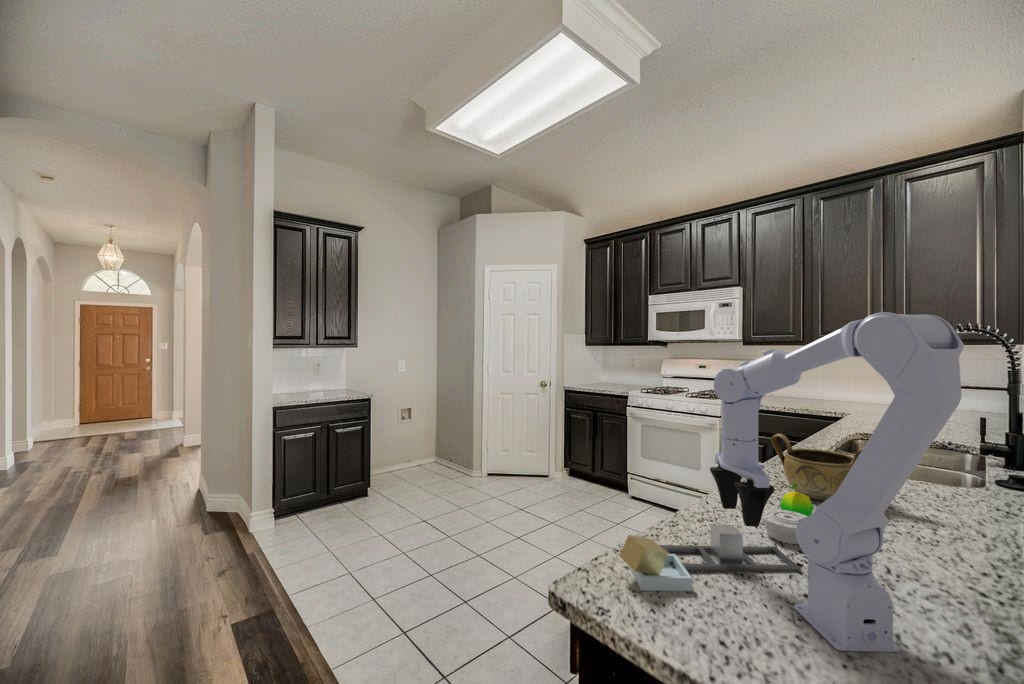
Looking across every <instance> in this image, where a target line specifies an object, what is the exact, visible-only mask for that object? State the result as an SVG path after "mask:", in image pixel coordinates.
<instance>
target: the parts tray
mask: <svg viewBox="0 0 1024 684" xmlns="http://www.w3.org/2000/svg"><path fill="white" fill-rule="evenodd" d="M670 562H673V563H674V564H675V566H676V568H672V566H671V565H670ZM682 563H683V562H681V560H680V559H679V557H678V556H677V555H676V553H670V554H669V555H668V557H667V559H666V562H665V564H664V566H663V568H662V571H661V573H660V575H654V574H648V573H642V572H636V571H634V570H633V569H632V568H631V567H630V566H629V569H630V570H631V572H632V575H633V577H634V579H635V581H636V583H637V585H638V588H639V589H640V591H641V592H642V591H644V592H645V591H651V592H653V591H654V592H692V591H693V577H692V576H691V575H690V572H687V570H686V569H685V567H684V566H683V565H682Z"/></svg>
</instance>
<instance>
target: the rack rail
mask: <svg viewBox="0 0 1024 684" xmlns="http://www.w3.org/2000/svg"><path fill="white" fill-rule="evenodd" d="M658 545H659V546H660V547H661V548H663V549H664V550H665V551H666V552H667V553H669V554H699V555H698V556H699V557H700V558H701V559H702V561H703V562H704V561H705V562H706V563H705V562H704V563H688V562H687V563H683V562H681V563H682V565H683V566H684V567H685V569H686V570H687V572H688V573H702V572H701V571H705V573H735V572H736V573H737V572H738V573H745V572H747V573H749V572H750V573H751V572H752V573H758V572H760V573H764V571H801V572H802V568H801V567H800V566H799V565H798V564H797V563H795V562H794V561H793V560H792V559H791V558H789V557H788V556H787V555H786V554H784V553H783V552H782V551H780V550H779V549H778V548H777V547H776V546H747V545H746V546H743V562H744V564H717V563H716V561H715V560H714V559H713V558H712V557H711V556H710V545H680V544H679V545H678V544H677V545H675V544H674V545H673V544H669V545H667V544H663V545H662V544H658ZM747 554H773V555H774V556H775V555H776V556H775V557H777V559H779V560H780V559H781V560H782V562H783V563H784V564H757V563H756V562H755V561H754V560H753V559H752V558H751V557H749V555H747ZM781 560H780V561H781ZM785 563H786V564H787V565H786V564H785ZM670 565H671V566H672V568H676V566H675V564H674V563H673V562H670ZM697 571H698V572H697ZM706 571H707V572H706ZM709 571H710V572H709Z"/></svg>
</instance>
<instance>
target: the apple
mask: <svg viewBox="0 0 1024 684" xmlns="http://www.w3.org/2000/svg"><path fill="white" fill-rule="evenodd" d="M793 484H794V486H789V487H787V488H788V489H790V490H795V491H790V492H789V491H788V492H787V493H785V494H784V495H783V497H782V498H781V502H780V503H779V506H780V510H787V511H792V512H796V513H800V514H803V515H806V516H810V515H812V514H813V513H814V511H815V507H814V505H813V503H812V501H811V500H812V499H811V498H809V497H808V496H806V495H804V494H801V493H799V492H798V491H797V483H796V481H795V482H794V483H793Z"/></svg>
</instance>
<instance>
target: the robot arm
mask: <svg viewBox="0 0 1024 684" xmlns="http://www.w3.org/2000/svg"><path fill="white" fill-rule="evenodd" d="M964 347H965V344H964V343H963V341H962V339H961V338H960V336H959V334H958V333H957V332H956V331H955V329H954V327H953V326H952V325H951V324H950V322H949V321H947V320H945V319H944V318H942V317H940V316H937V315H934V314H930V313H929V314H927V313H923V314H919V313H918V314H906V313H905V314H902V313H898V314H897V313H895V312H889V311H888V312H886V311H883V312H877V313H873V314H871V315H868V316H866V317H865V318H864V319H858V320H853V321H850V322H848V323H847V324H845V325H843V326H842V327H840V328H839V329H836V330H834V331H832V332H830V333H828V334H826V335H824V336H822V337H819V338H818V339H816V340H814V341H812V342H810V343H808V344H805V345H804V346H802V347H799V348H797V349H796V350H794V351H791V352H788V351H785V350H781V349H778V350H777V349H767V350H765V351H763V352H762V355H763V356H761V357H758V358H757V359H754V360H752V361H744V362H741V363H740V366H739V367H738V368H736V369H735V368H729V367H727V368H726V367H725V368H723V369H721V371H719V372H718V373H716V374H715V376H714V379H713V390H714V393H715V395H716V397H717V398H718V399H719V400H721V401H720V404H721V405H720V406H721V408H720V410H721V413H720V415H721V420H720V421H721V428H720V429H721V435H720V436H721V452H717V453H715V454H714V455H715V456H714V463H715V464H716V465H717V466H712V467H710V468H709V471H710V473H711V475H712V478H713V480H714V482H715V483H716V487H717V490H718V494H719V498H720V501H721V502H720V504H721V506H722V509H724V510H736V508H737V505H738V498H739V500H740V504H741V513H742V519H743V520H742V521H743V523H744V524H743V525H744V526H746V527H759V526H760V523H761V517H762V513H763V511H764V510H765V508H766V505H767V503H768V501H769V499H770V497H771V496H772V495H773V494H774V493H775V486H773V485H771V484H770V475H769V474H767V473H765V471H764V469H766V465H765V464H764V463H762V462H760V461H759V411H760V409H761V401H762V400H763V398H764V397H765V395H767V394H770V393H772V392H776V391H779V390H782V389H784V388H788V387H790V386H794V385H796V384H798V383H799V381H800V380H801V376H802V373H804V372H808V371H810V370H811V371H812V370H813V369H817V368H819V367H822V366H826V365H829V364H831V363H834V362H838V361H840V360H843V359H844V360H845V359H846V358H851V357H852V358H853V357H854V358H855V357H856V358H859V357H860V358H861V357H862V358H863V359H864V360H865V361H866V363H868V364H869V366H870V367H872V368H873V369H874V371H876V372H877V373H878V374H879V375H880V376H881V377H882V378H883V379H884V380H885V381H886V382H887V385H888V386H889V387H890V389H891V391H892V393H893V395H894V398H893V399H892V400H891V402H890V404H889V406H888V408H887V409H886V410H885V412H884V414H883V415H882V417H881V419H880V420H879V422H878V424H877V425H876V427H875V429H874V430H873V432H872V433H871V435H870V436H869V438H868V440H867V441H866V443H865V445H864V448H863V447H862V448H863V449H862V451H861V453H860V454H859V456H858V458H857V459H856V461H855V463H854V464H853V466H852V467H851V469H850V471H849V472H848V474H847V476H846V477H845V479H844V480H843V482H842V484H841V485H840V487H839V489H838V490H837V492H836V493H835V494H834V495H833V496H831V497H830V498H828V499H827V500H826V501H822V503H820V504H819V505H817V507H816V508H815V509H814V510H813V512H812V514H811V515H810V516H808V517H805V518H803V519H801V520H800V521H799V523H798V524H797V527H796V537H797V541H798V544H799V545H798V544H797V545H798V546H799V548H800V549H801V551H802V552H803V554H804V555H805V559H806V560H807V604H803V603H801V604H800V603H797V604H796V603H794V605H793V609H794V610H795V611H797V612H798V613H799V615H800V616H802V617H803V618H804V619H805V621H806V622H807V623H809V625H810V626H812V627H813V628H814V629H815V630H816V631H817V632H818V633H819V634H820V635H821V636H822V637H823V638H824V639H825V640H826V641H827V642H828V643H829V644H830V645H831V646H832V647H834V649H836V650H837V651H840V652H846V651H847V652H877V653H879V652H880V653H881V652H883V653H884V652H885V653H888V652H889V653H899V652H900V649H901V648H900V647H899V646H898V645H897V644H896V643H895V642H894V605H893V600H892V598H891V596H890V594H889V593H888V592H887V591H886V590H885V589H884V588H883V587H882V586H881V585H880V583H879V582H878V581H877V579H876V577H875V575H874V572H873V564H874V563H873V562H874V558H873V557H874V555H875V554H877V553H879V552H880V551H881V550H882V548H883V546H884V541H885V540H884V539H885V538H884V531H885V528H886V526H887V525H888V524H889V519H888V517H887V516H886V514H885V512H886V511H887V509H888V508H889V506H890V505H891V504H892V503H893V500H894V499H895V498H896V496H897V495H898V493H899V492H900V491H901V489H902V488H903V486H904V485H905V483H906V482H907V480H908V479H909V478H910V476H912V473H914V472H913V471H915V469H916V467H918V465H919V463H920V462H921V460H922V459H923V458H924V456H925V455H926V453H927V451H928V450H929V449H930V447H931V446H932V444H933V443H934V441H935V439H936V438H937V437H938V436H939V434H940V433H941V432H942V429H943V428H944V427H945V425H946V424H947V422H949V421H948V420H949V419H950V418H951V416H952V415H953V413H954V412H955V411H956V410H957V408H958V406H959V405H960V402H961V400H962V384H961V383H962V382H961V366H960V364H961V363H960V356H961V354H962V352H963V349H964ZM742 478H744V479H745V480H746V481H742Z"/></svg>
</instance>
